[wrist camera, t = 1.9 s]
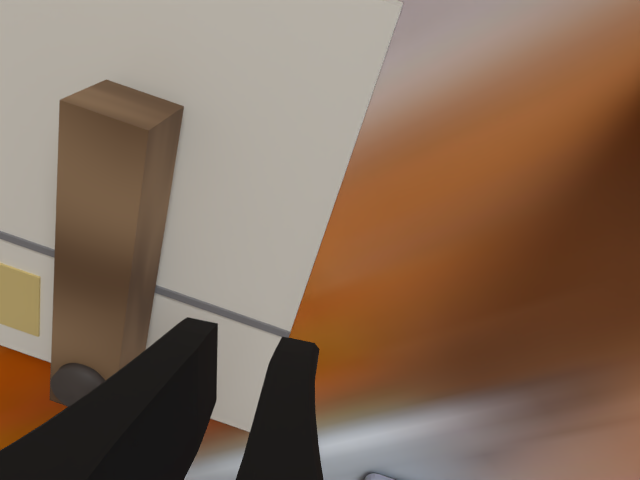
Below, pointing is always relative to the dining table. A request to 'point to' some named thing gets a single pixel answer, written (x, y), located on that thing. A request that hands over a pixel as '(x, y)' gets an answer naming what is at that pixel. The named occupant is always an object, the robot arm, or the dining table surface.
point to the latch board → (194, 155)
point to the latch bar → (108, 230)
